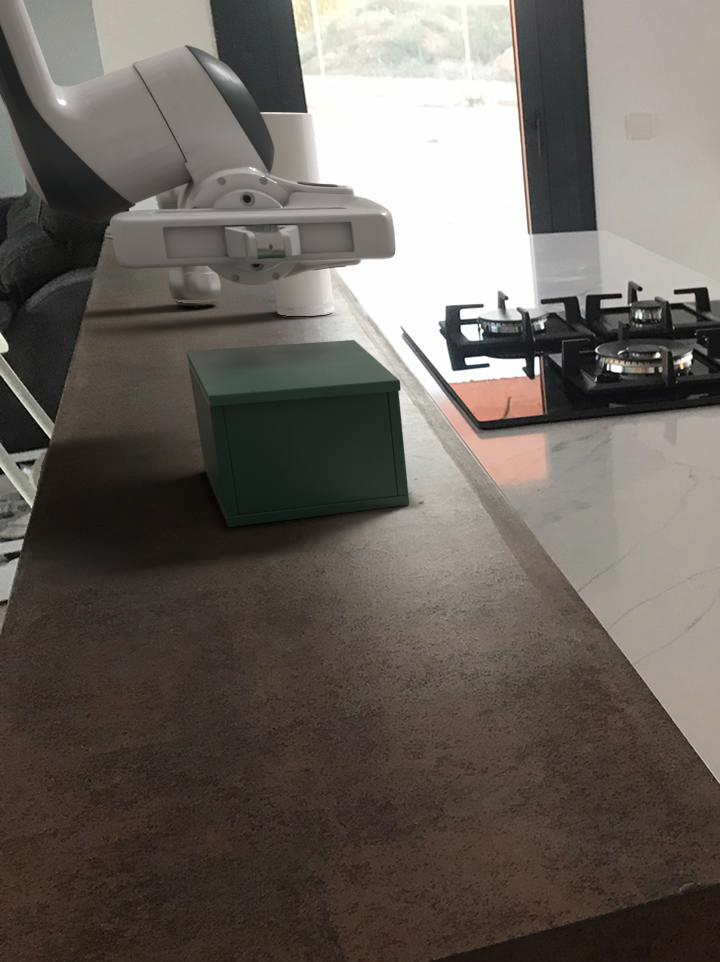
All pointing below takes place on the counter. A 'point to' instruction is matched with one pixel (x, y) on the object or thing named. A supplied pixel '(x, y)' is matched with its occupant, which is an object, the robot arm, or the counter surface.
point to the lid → (288, 372)
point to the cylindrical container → (297, 165)
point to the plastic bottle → (189, 268)
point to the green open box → (303, 456)
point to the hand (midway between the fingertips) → (270, 247)
